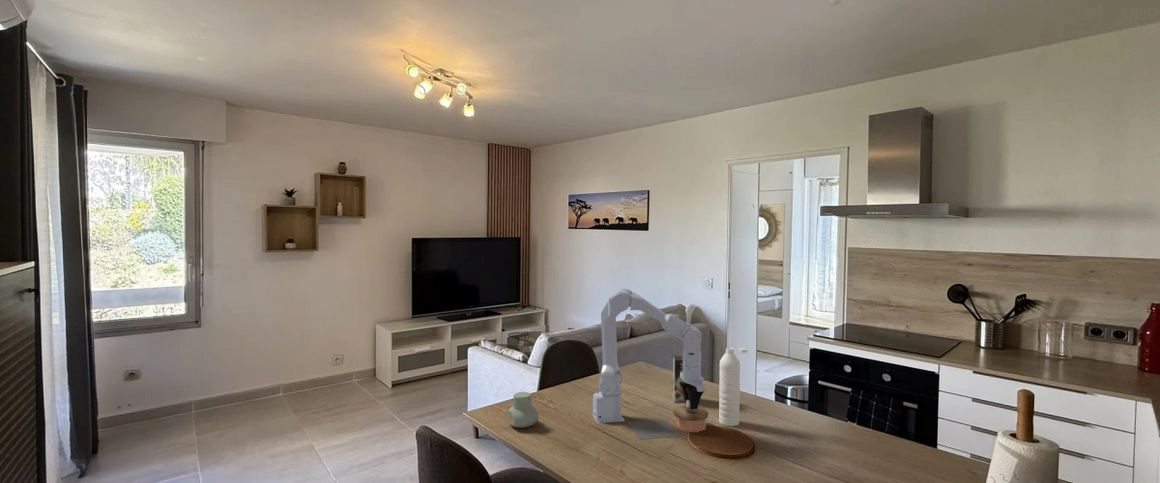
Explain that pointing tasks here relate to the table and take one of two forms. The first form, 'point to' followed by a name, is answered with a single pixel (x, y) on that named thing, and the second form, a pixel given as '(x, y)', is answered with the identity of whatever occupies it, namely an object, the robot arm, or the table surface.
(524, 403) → the air freshener
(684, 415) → the lid
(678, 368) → the coffee box
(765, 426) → the table surface
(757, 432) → the table surface
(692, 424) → the bowl
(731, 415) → the water bottle
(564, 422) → the table surface
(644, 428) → the mat
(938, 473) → the table surface
